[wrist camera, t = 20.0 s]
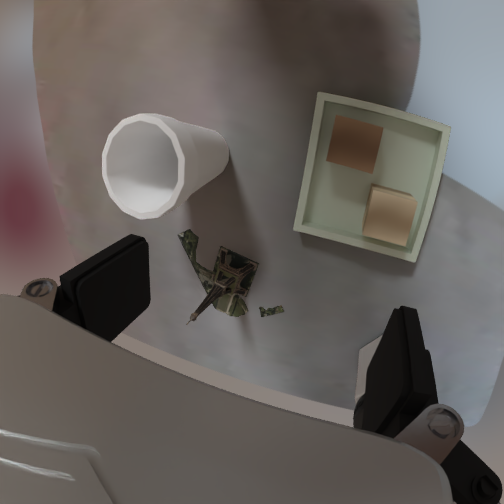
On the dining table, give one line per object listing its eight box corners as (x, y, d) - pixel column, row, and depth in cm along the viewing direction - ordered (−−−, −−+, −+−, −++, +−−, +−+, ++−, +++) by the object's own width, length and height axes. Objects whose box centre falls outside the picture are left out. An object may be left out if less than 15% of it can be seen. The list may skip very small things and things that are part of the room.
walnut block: (338, 117, 30) (335, 114, 26) (380, 128, 29) (383, 127, 25) (329, 157, 32) (325, 160, 28) (370, 169, 31) (372, 174, 27)
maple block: (371, 182, 31) (373, 189, 27) (410, 193, 30) (417, 202, 26) (362, 222, 33) (362, 234, 29) (400, 232, 32) (405, 246, 28)
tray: (320, 94, 30) (317, 91, 28) (444, 127, 27) (451, 126, 25) (297, 223, 37) (292, 230, 34) (412, 254, 33) (415, 262, 31)
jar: (355, 336, 39) (348, 401, 29) (415, 326, 36) (425, 391, 25) (363, 383, 42) (356, 448, 31) (416, 376, 38) (422, 441, 28)
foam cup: (257, 153, 35) (206, 164, 24) (209, 206, 39) (147, 239, 28) (202, 101, 35) (134, 93, 23) (160, 156, 39) (89, 171, 28)
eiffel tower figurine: (177, 232, 43) (114, 271, 31) (239, 204, 39) (185, 239, 27) (225, 324, 46) (182, 383, 34) (287, 308, 42) (257, 375, 30)
